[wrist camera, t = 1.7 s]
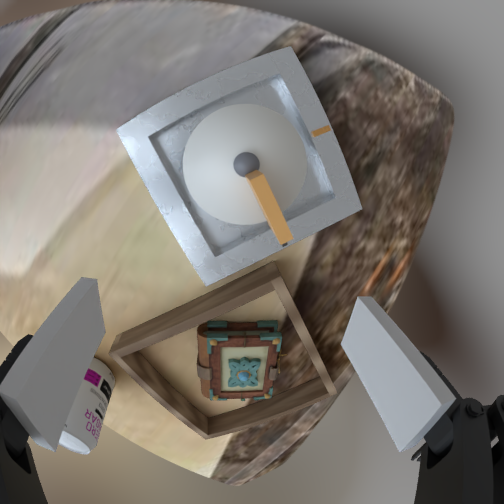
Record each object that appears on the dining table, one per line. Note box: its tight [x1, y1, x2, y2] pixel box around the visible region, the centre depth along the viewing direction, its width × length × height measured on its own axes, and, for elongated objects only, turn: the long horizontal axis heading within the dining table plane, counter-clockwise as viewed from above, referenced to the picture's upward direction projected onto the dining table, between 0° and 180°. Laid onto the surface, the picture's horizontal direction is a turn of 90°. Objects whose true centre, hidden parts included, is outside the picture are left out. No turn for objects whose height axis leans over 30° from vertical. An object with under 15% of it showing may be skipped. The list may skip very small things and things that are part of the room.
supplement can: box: [58, 357, 115, 454], centre depth 29 cm, size 8×8×15 cm
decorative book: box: [197, 320, 288, 401], centre depth 36 cm, size 13×18×5 cm
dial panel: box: [117, 46, 362, 286], centre depth 26 cm, size 20×20×3 cm
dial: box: [183, 104, 307, 245], centre depth 24 cm, size 13×12×7 cm
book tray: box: [109, 261, 337, 439], centre depth 36 cm, size 24×24×4 cm
